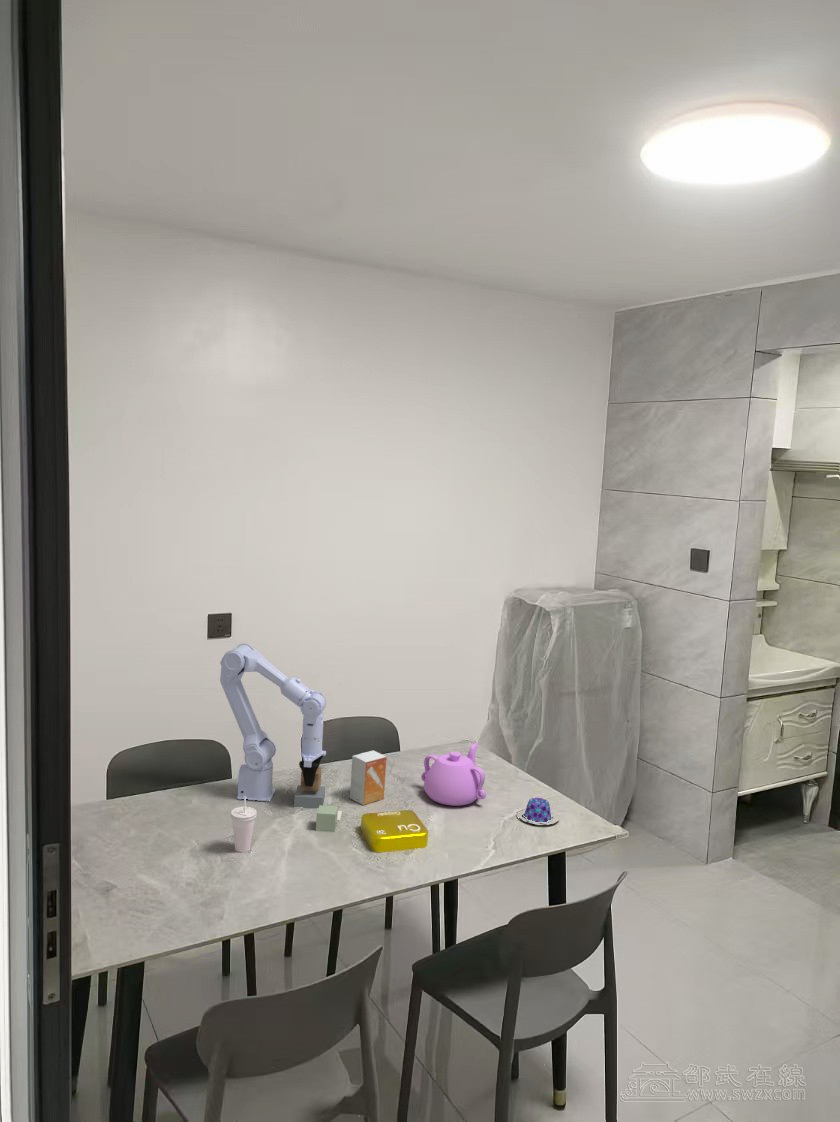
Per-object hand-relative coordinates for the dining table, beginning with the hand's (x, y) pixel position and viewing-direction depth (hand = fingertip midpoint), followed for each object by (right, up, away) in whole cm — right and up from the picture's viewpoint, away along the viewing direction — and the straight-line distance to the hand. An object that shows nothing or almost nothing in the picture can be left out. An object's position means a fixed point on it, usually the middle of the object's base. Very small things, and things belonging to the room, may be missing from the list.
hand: (310, 782), depth 238 cm
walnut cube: (0, -1, 0) cm, 2 cm away
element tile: (+24, -10, -18) cm, 32 cm away
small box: (+16, -6, +5) cm, 18 cm away
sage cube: (+6, -8, -14) cm, 18 cm away
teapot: (+42, -7, +12) cm, 44 cm away
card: (+6, -7, -7) cm, 12 cm away
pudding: (+64, -10, -1) cm, 65 cm away
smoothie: (-13, -9, -29) cm, 33 cm away
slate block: (0, -6, +1) cm, 6 cm away
